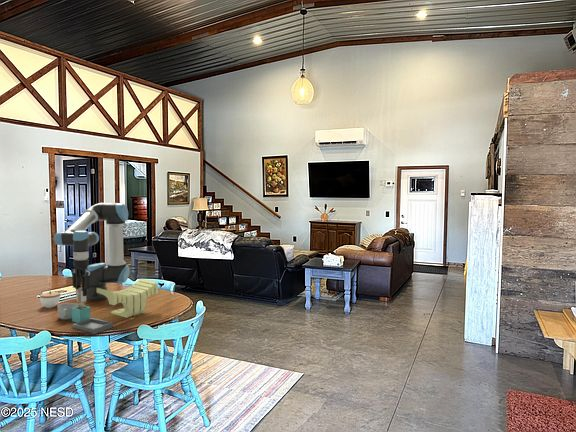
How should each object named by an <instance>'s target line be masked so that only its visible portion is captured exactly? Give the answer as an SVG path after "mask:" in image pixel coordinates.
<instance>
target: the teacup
mask: <svg viewBox="0 0 576 432" xmlns="http://www.w3.org/2000/svg"><path fill="white" fill-rule="evenodd" d="M75 307H78V303H75V302H67V303H66V302H65V303H61V304H60V303H59V304H57V317H58V318H59V319H60V320H62V321H63V320H64V321H65V320H72V308H75Z"/></svg>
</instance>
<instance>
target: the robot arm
mask: <svg viewBox="0 0 576 432" xmlns="http://www.w3.org/2000/svg"><path fill="white" fill-rule="evenodd" d="M128 219H129V210H128V207H127V205H126V204H125V203H118V202H99V203H95V204H94V205H91V206H89V207H88V208H86V209H84V210H83V212H82V214H81V216H79V218H78V219H76V220H75V221H74V222H73V223H72V224H71V225H70V226H69V227H68V228H66V230H64V231H57V232H55V234H54V237H53V238H54V239H53V240H54V244H55V245H57V246H64V247H65V246H72V257H73V260H72V264H73V265H72V266H73V267H74V269H71V270H70V273H71V277H72V278H71V279H72V280H71V282H72V288H73V289H74V288H75V289H74V290H75V295H76V302H78V288H81V287H82V290H81V302H84V301H85V302H87V301H88V302H89V301H90V302H92V301H94V302H95V301H102V300H106V299H108V298H107V297H106V296H104V295H102V294H100V293H97V288H100V289H104V290H108V288H107V284H124V283H126V282H127V281H128V279H129V275H130V271H131V268H130V266H129V265H127V262H126V261H125V259H124V257H125V256H124V225H125V224H126V221H128ZM98 221H105V223H106V225H107V226H108V241H109V242H108V243H109V244H108V246H109V262H108V263H107V264H106V263H105V262H99V263H93V264H90V263H89V261H90V259H89V257H90V255H89V254H90V253H89V250H90V249H89V247H91V246H94V245H96V244H98V243H99V240H100V236H99V234H98V233H97V232H95V231H87V229H88V228H89V227H90V226H91V225H92V224H94V223H96V222H98Z"/></svg>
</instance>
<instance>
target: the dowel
mask: <svg viewBox="0 0 576 432" xmlns="http://www.w3.org/2000/svg"><path fill="white" fill-rule="evenodd" d="M81 290H82V286H81V288H78V301H77V302H78V303H77V304H78V309H84V308H85V306H86V305H85V304H86V303H85V302H86V301H84V302H81Z"/></svg>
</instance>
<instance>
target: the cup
mask: <svg viewBox="0 0 576 432" xmlns="http://www.w3.org/2000/svg"><path fill="white" fill-rule="evenodd" d="M90 318H91V306H87V305H85V308H84V309H78V307H75V308H72V319H71V322H73V323H78V322H81V321H84V320H87V319H90Z"/></svg>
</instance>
